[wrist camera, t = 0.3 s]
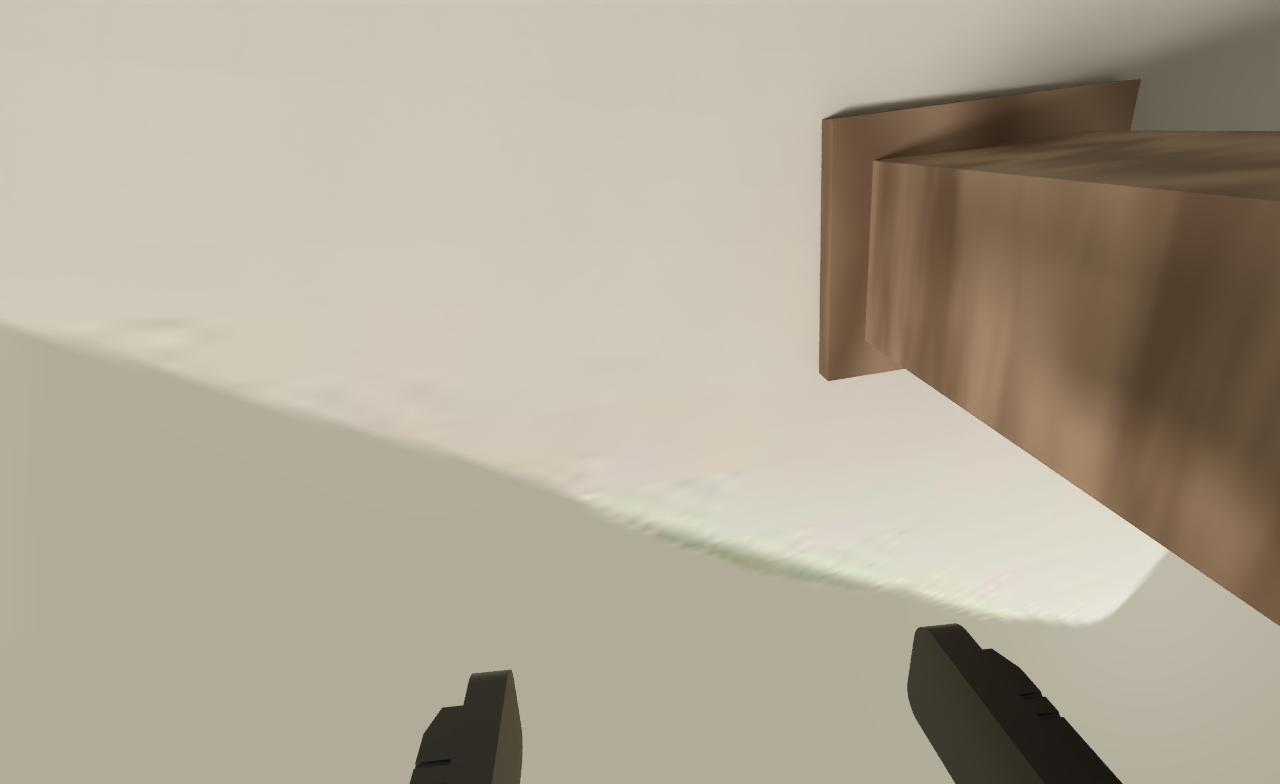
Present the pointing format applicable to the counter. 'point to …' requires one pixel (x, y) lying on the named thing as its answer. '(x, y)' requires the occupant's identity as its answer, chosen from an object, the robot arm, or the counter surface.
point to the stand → (1077, 301)
